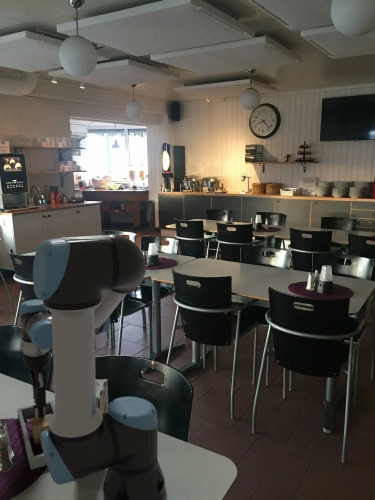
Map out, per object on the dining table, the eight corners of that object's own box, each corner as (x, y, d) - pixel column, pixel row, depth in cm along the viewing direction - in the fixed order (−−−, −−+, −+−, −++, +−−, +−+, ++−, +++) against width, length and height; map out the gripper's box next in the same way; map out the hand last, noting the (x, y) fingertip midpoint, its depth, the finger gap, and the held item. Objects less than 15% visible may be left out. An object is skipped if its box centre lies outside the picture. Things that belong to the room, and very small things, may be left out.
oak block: (55, 439, 126) (54, 423, 125) (34, 445, 123) (33, 429, 122) (52, 428, 131) (51, 413, 130) (31, 434, 128) (30, 418, 128)
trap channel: (72, 457, 118) (72, 447, 117) (30, 469, 113) (30, 459, 112) (53, 408, 142) (52, 400, 142) (18, 417, 137) (17, 408, 136)
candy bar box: (93, 427, 132) (91, 378, 129) (109, 428, 131) (108, 378, 129) (84, 450, 120) (82, 397, 118) (101, 451, 120) (100, 397, 118)
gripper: (20, 346, 130) (25, 417, 134) (26, 362, 119) (31, 439, 123) (45, 342, 134) (49, 411, 137) (53, 357, 122) (57, 432, 126)
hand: (41, 424), depth 130 cm, fingers closed
